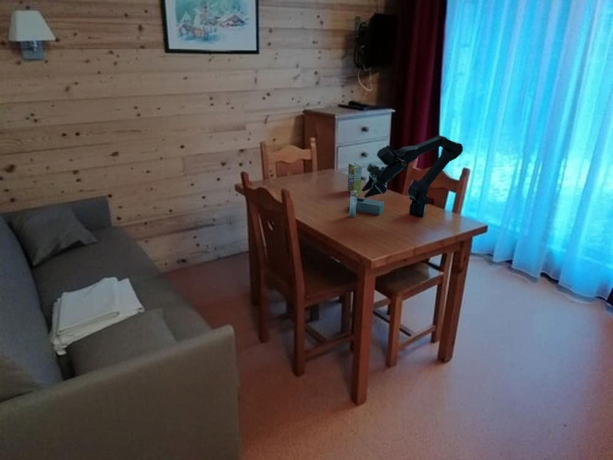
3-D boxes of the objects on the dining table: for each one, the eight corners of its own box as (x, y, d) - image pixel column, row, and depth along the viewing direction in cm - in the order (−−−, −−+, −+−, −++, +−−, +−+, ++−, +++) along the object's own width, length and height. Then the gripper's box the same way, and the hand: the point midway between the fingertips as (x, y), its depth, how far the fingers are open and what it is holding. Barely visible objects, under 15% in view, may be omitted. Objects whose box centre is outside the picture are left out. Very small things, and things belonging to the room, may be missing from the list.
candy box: (346, 190, 246) (348, 163, 240) (353, 190, 247) (355, 162, 241) (352, 195, 238) (354, 167, 232) (360, 195, 239) (362, 166, 234)
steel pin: (356, 215, 210) (358, 190, 206) (354, 217, 208) (356, 192, 203) (350, 214, 211) (352, 189, 207) (348, 216, 209) (349, 191, 204)
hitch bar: (383, 210, 217) (384, 201, 216) (379, 215, 212) (380, 206, 210) (354, 205, 223) (354, 196, 222) (348, 209, 217) (349, 200, 216)
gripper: (375, 153, 208) (350, 175, 212) (381, 162, 190) (353, 187, 194) (391, 170, 211) (365, 192, 215) (398, 181, 193) (370, 205, 197)
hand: (363, 193), depth 205 cm, fingers open, 9 cm apart
